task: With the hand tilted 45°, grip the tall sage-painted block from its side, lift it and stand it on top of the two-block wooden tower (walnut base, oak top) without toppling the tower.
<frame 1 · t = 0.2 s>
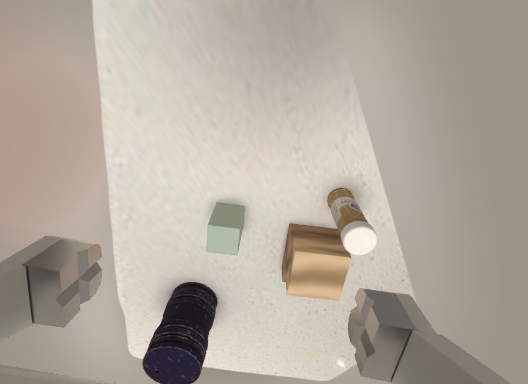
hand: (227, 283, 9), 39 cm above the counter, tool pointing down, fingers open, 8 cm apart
storage jar: (194, 299, 61), on the counter
sprinkles bottle: (339, 199, 51), on the counter
walnut block: (311, 248, 55), on the counter, touching oak block
oak block: (314, 261, 51), point 4 cm above the counter, touching walnut block
sage block: (229, 216, 53), on the counter
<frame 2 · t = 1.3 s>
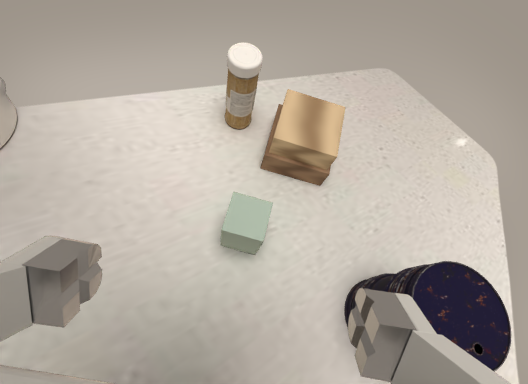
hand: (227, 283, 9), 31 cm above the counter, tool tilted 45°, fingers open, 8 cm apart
storage jar: (377, 315, 40), on the counter
sprinkles bottle: (238, 119, 49), on the counter
walnut block: (295, 152, 49), on the counter, touching oak block
oak block: (303, 137, 44), point 4 cm above the counter, touching walnut block
sage block: (242, 233, 41), on the counter
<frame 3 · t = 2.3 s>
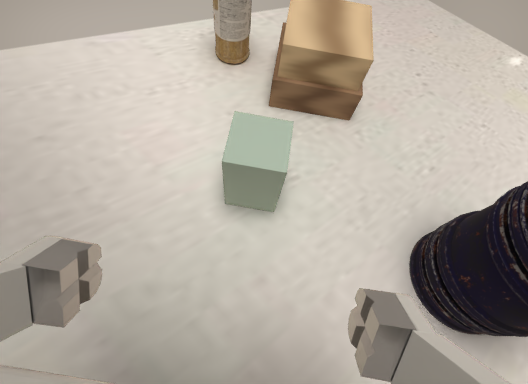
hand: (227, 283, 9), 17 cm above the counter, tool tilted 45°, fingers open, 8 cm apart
storage jar: (456, 278, 28), on the counter
sprinkles bottle: (232, 55, 39), on the counter
walnut block: (311, 86, 38), on the counter
oak block: (320, 56, 34), point 4 cm above the counter
sage block: (253, 186, 30), on the counter
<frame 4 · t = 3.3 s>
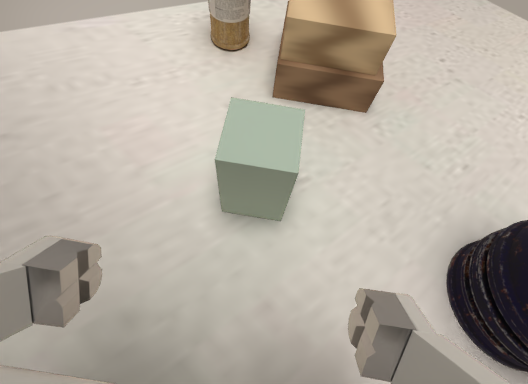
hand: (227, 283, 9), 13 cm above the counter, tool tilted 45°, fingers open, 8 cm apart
storage jar: (505, 300, 23), on the counter
sprinkles bottle: (230, 40, 34), on the counter
walnut block: (320, 74, 33), on the counter, touching oak block
oak block: (330, 36, 29), point 4 cm above the counter, touching walnut block
sage block: (255, 190, 25), on the counter
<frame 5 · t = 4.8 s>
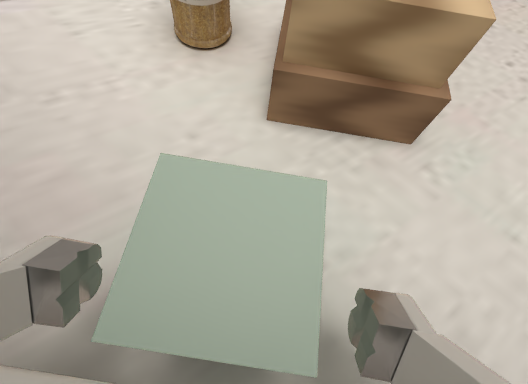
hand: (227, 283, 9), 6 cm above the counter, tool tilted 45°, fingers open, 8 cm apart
sprinkles bottle: (204, 34, 23), on the counter
walnut block: (339, 83, 22), on the counter, touching oak block
oak block: (360, 25, 18), point 4 cm above the counter, touching walnut block
sage block: (232, 290, 15), on the counter
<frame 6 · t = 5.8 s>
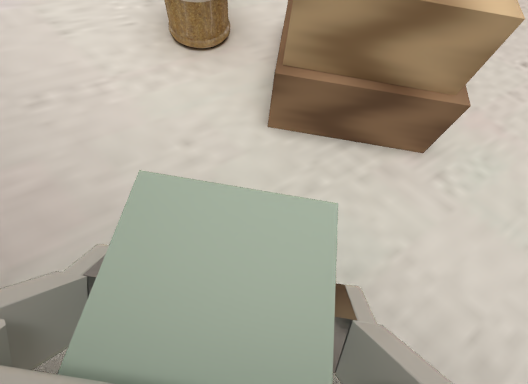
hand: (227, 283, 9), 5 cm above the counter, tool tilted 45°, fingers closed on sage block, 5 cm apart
sprinkles bottle: (201, 33, 22), on the counter
walnut block: (345, 87, 21), on the counter, touching oak block
oak block: (368, 25, 17), point 4 cm above the counter, touching walnut block
sage block: (228, 314, 13), on the counter, touching gripper
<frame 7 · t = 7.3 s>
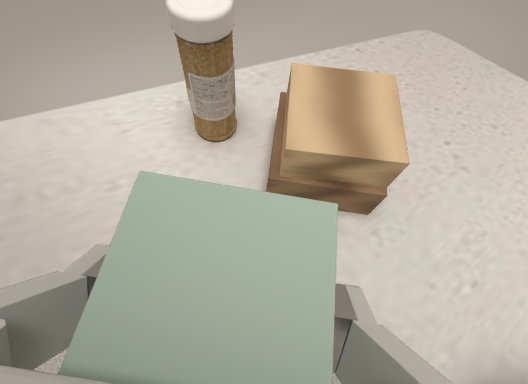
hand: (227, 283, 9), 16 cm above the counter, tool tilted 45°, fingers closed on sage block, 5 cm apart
sprinkles bottle: (216, 127, 31), on the counter
walnut block: (318, 165, 30), on the counter, touching oak block
oak block: (331, 139, 26), point 4 cm above the counter, touching walnut block
sage block: (228, 315, 13), point 11 cm above the counter, touching gripper
when the fingers open (14 cm above the counter, at t = 11.2 s): sage block drops 1 cm, resting on oak block.
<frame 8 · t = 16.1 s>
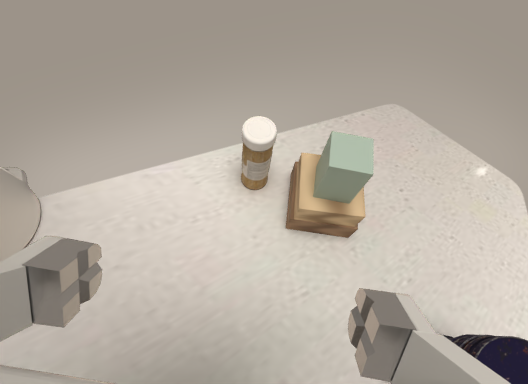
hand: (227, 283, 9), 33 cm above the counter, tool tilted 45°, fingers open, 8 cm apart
storage jar: (425, 376, 38), on the counter
sprinkles bottle: (254, 179, 49), on the counter
walnut block: (317, 205, 48), on the counter, touching oak block
oak block: (324, 195, 44), point 4 cm above the counter, touching sage block, walnut block
sage block: (332, 184, 40), point 8 cm above the counter, touching oak block
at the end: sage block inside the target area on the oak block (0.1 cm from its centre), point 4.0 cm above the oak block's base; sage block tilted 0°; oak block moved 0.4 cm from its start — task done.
